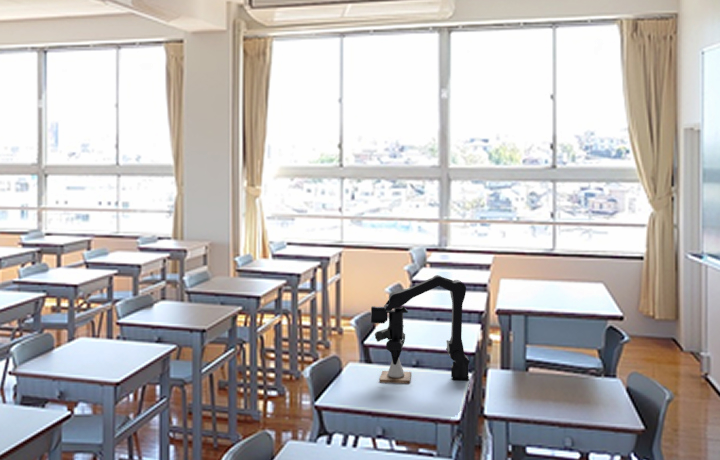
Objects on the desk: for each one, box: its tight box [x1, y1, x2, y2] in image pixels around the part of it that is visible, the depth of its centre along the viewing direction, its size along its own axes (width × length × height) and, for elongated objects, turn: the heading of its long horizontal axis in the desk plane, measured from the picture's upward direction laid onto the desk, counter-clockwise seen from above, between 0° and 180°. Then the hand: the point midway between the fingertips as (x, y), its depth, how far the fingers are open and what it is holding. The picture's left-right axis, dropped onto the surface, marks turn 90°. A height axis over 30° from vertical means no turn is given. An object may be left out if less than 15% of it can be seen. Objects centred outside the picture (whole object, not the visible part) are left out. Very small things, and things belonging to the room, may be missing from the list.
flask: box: [387, 358, 405, 378], centre depth 262 cm, size 7×7×10 cm
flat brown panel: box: [379, 370, 412, 384], centre depth 263 cm, size 12×12×2 cm
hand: (395, 361), depth 263 cm, fingers open, 9 cm apart
